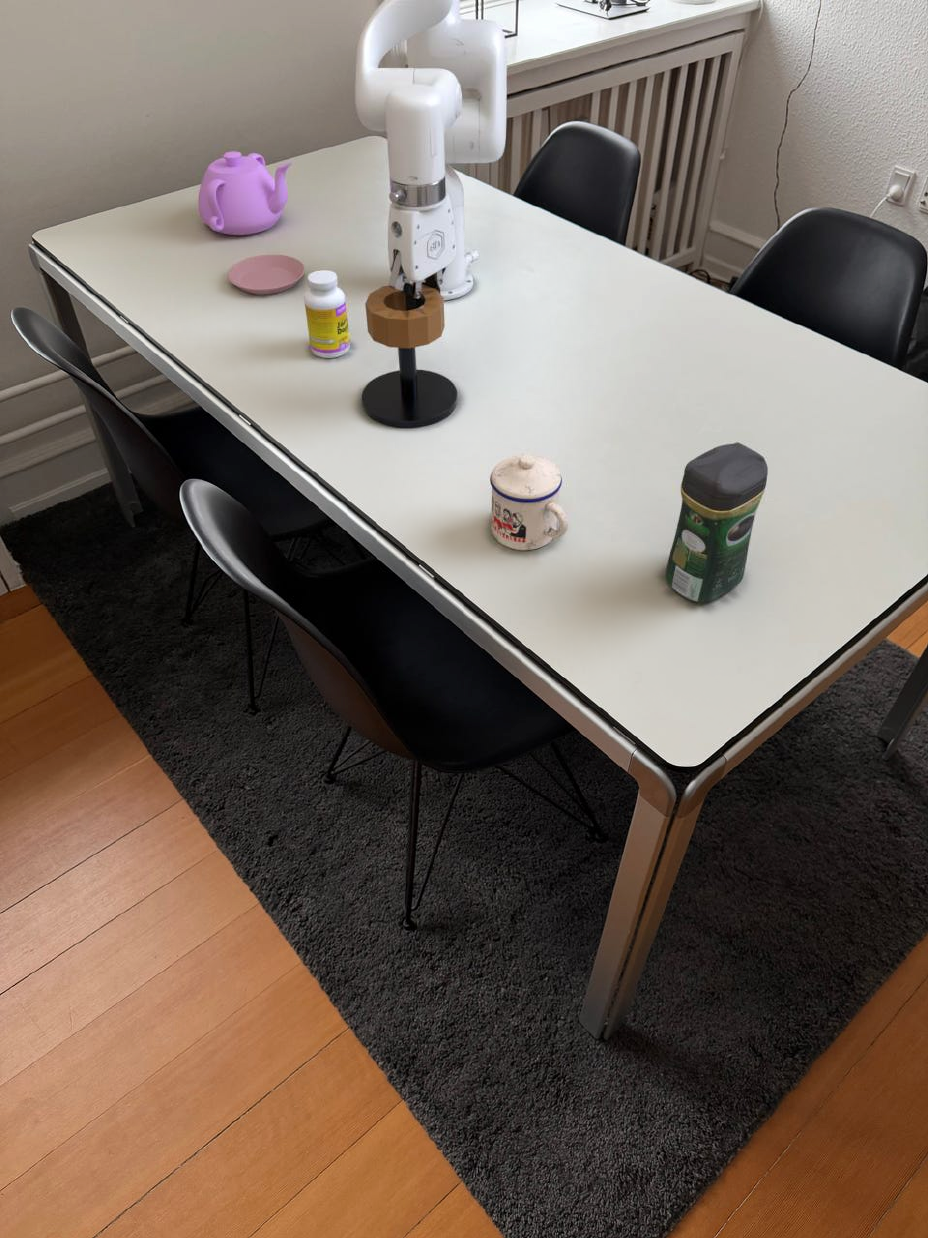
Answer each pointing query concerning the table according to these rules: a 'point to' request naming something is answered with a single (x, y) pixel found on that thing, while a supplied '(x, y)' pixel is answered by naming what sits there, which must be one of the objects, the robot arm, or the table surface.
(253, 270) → the plate
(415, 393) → the stand
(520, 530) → the teacup with lid
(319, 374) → the table surface
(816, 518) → the table surface
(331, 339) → the supplement bottle
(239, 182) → the teapot
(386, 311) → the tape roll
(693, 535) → the coffee jar
